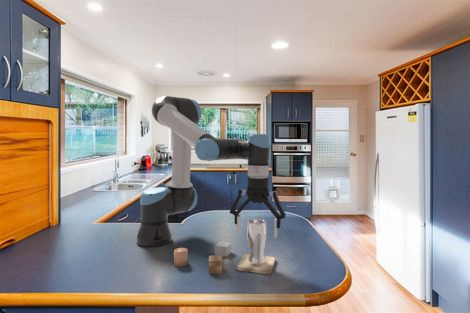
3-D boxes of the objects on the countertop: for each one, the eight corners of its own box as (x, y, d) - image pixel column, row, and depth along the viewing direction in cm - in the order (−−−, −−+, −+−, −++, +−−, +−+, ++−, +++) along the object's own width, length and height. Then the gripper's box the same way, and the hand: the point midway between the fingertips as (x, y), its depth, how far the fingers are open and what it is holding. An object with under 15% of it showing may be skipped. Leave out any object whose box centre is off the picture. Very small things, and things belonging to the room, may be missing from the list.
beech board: (236, 269, 101) (236, 266, 101) (244, 256, 113) (244, 253, 113) (270, 274, 98) (270, 271, 98) (275, 260, 109) (275, 257, 109)
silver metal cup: (250, 266, 101) (250, 224, 100) (244, 258, 108) (244, 219, 107) (268, 264, 103) (269, 223, 102) (261, 257, 110) (262, 218, 109)
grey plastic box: (214, 255, 114) (215, 245, 114) (220, 250, 119) (220, 241, 119) (226, 257, 112) (226, 247, 112) (231, 252, 117) (231, 243, 117)
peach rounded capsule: (171, 265, 104) (171, 252, 104) (177, 260, 109) (177, 247, 109) (184, 267, 103) (184, 253, 103) (189, 261, 108) (189, 248, 107)
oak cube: (208, 273, 98) (208, 260, 98) (209, 267, 103) (209, 255, 103) (221, 273, 99) (222, 260, 98) (221, 267, 103) (221, 255, 103)
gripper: (221, 176, 103) (221, 234, 105) (292, 180, 96) (290, 242, 98) (227, 174, 111) (227, 228, 112) (294, 177, 104) (292, 235, 105)
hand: (256, 235), depth 105 cm, fingers open, 13 cm apart
